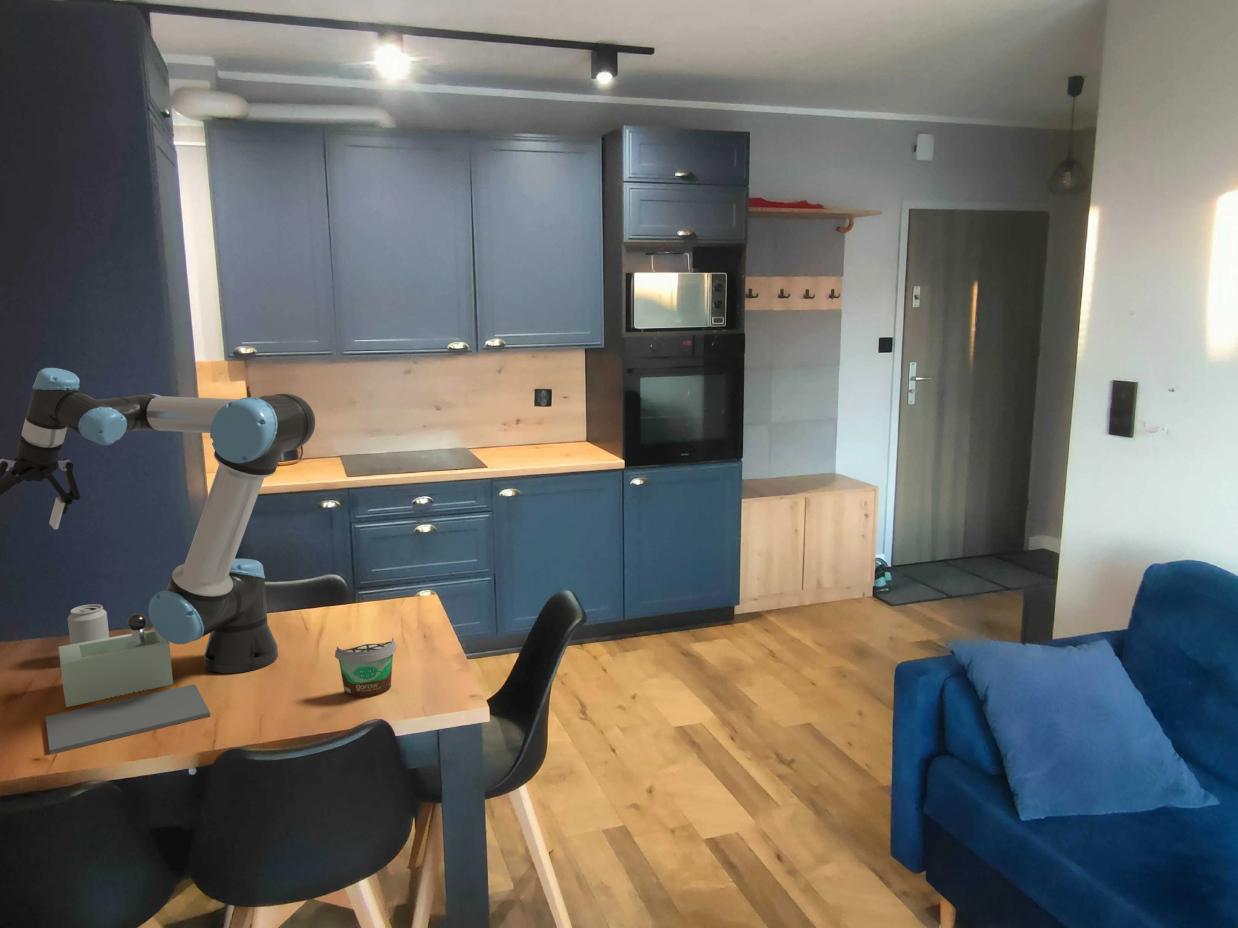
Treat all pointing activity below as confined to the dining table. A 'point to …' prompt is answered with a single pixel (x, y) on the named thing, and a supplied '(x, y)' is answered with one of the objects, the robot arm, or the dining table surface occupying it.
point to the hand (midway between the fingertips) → (18, 527)
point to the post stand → (137, 629)
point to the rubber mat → (124, 718)
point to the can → (87, 623)
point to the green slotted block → (114, 667)
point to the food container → (366, 669)
